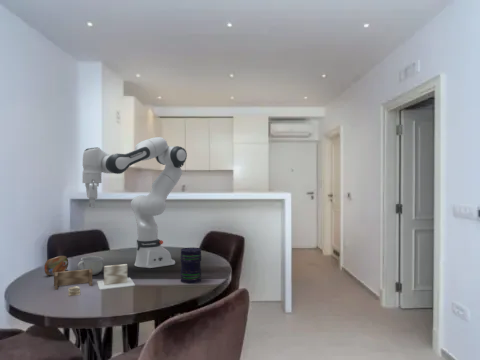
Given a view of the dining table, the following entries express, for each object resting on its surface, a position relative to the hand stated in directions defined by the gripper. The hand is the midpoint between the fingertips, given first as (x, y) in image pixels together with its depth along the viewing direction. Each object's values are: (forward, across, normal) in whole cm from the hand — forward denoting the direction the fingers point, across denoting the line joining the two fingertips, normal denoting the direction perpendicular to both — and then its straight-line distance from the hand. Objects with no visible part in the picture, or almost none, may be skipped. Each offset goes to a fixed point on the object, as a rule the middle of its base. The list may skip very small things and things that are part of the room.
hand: (91, 207), depth 182 cm
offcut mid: (+34, -29, +8) cm, 45 cm away
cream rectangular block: (+34, -20, -9) cm, 40 cm away
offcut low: (+35, -29, +8) cm, 46 cm away
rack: (+34, -15, +8) cm, 38 cm away
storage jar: (+34, -30, -42) cm, 62 cm away
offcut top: (+33, -29, +8) cm, 45 cm away
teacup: (+34, +3, +1) cm, 34 cm away
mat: (+34, -20, -9) cm, 41 cm away
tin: (+34, +12, +16) cm, 40 cm away
